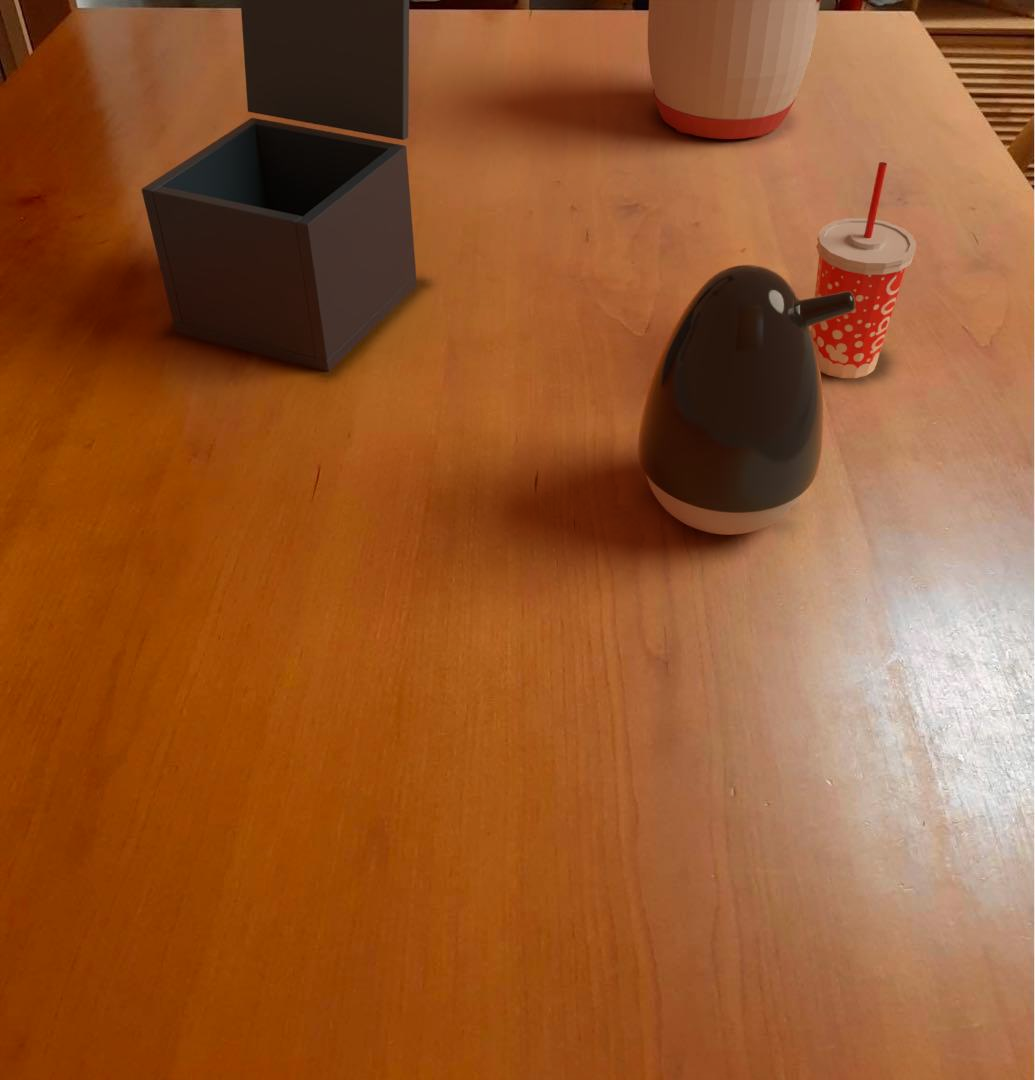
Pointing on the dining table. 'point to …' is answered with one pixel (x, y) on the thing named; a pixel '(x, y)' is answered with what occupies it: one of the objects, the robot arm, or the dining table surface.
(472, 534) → the dining table surface
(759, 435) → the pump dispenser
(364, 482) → the dining table surface
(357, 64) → the lid
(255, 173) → the box
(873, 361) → the beverage cup
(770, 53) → the citrus juicer
